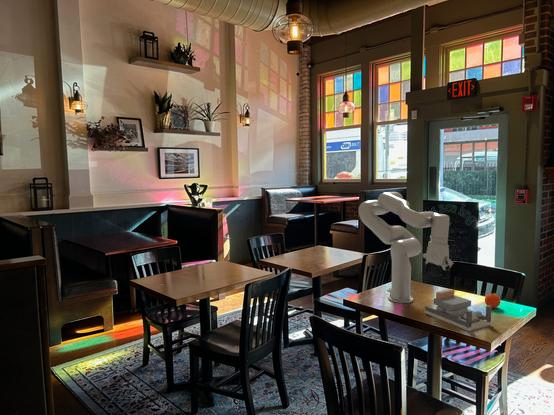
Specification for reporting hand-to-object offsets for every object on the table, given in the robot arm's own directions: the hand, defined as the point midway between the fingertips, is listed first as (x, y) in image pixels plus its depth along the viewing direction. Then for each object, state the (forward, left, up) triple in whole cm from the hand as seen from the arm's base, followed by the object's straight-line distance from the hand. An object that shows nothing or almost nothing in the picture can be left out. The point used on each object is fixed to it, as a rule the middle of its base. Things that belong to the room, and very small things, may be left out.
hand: (436, 275), depth 197 cm
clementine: (+10, +29, -18) cm, 36 cm away
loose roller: (+21, 0, -16) cm, 26 cm away
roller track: (+12, 0, -18) cm, 21 cm away
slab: (+10, 0, -12) cm, 15 cm away
